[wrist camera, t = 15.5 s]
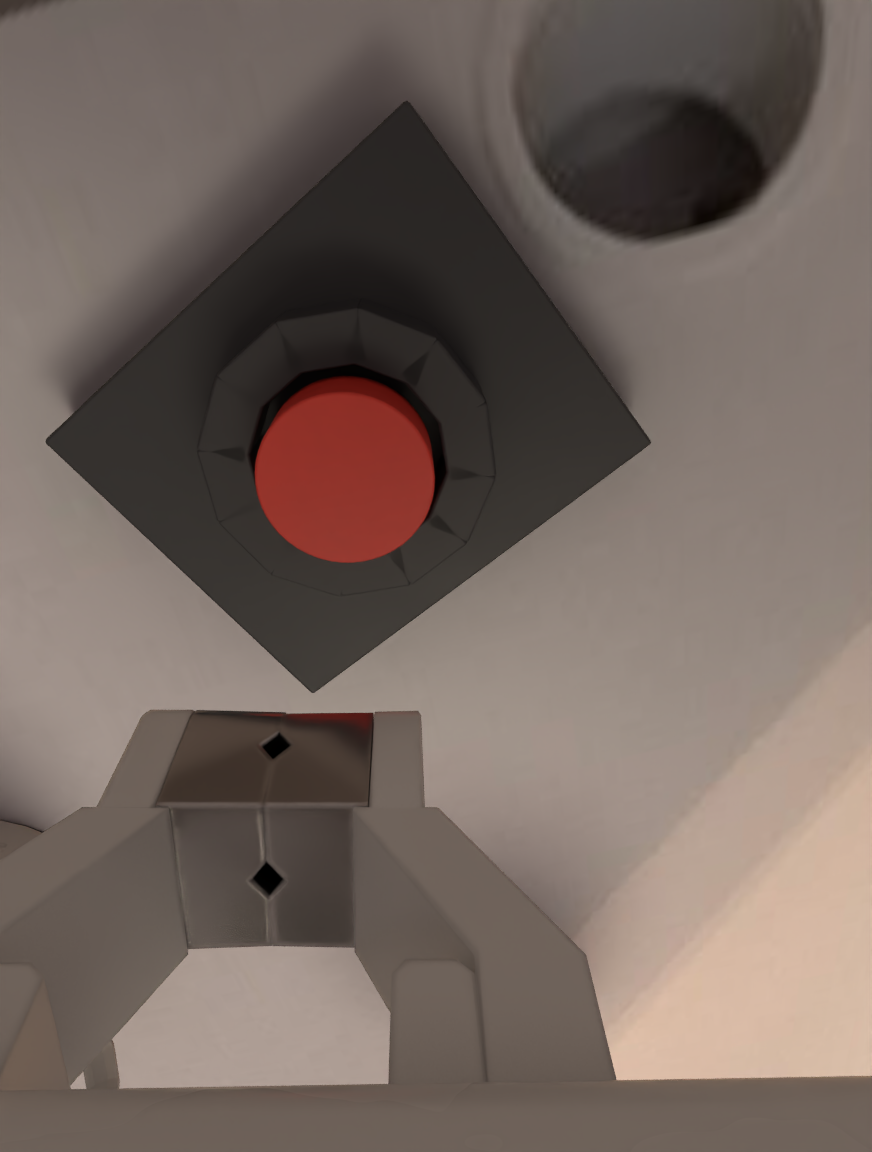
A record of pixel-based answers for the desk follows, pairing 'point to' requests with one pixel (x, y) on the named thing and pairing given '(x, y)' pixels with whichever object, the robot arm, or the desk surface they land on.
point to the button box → (364, 349)
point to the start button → (346, 470)
